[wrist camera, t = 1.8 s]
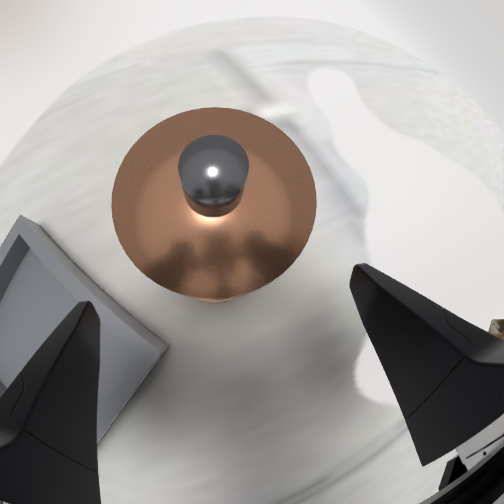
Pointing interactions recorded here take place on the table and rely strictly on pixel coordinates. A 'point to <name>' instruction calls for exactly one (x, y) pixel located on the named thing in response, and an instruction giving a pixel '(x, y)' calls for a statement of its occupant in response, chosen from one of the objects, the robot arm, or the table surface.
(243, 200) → the copper bottle
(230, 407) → the table surface
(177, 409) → the table surface
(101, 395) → the fill tray
